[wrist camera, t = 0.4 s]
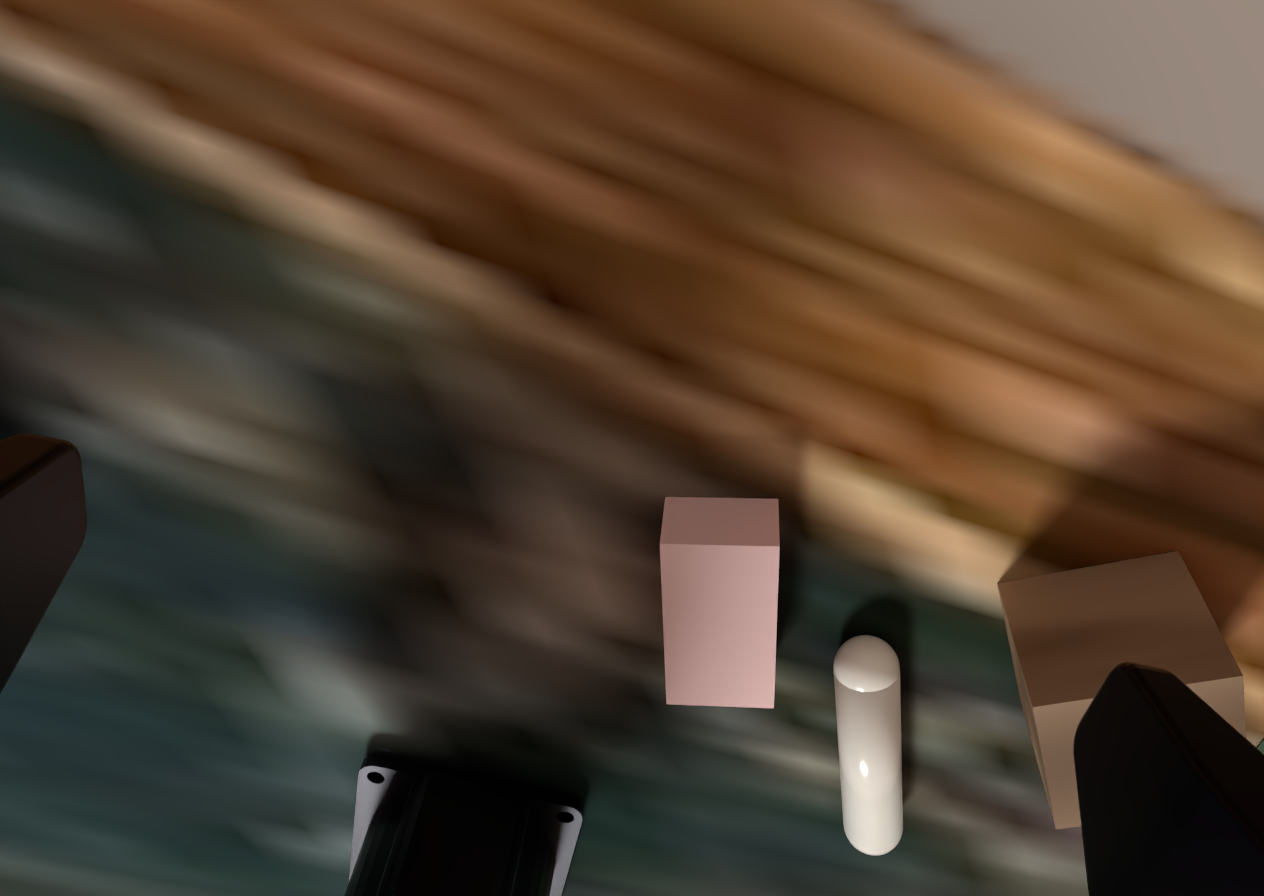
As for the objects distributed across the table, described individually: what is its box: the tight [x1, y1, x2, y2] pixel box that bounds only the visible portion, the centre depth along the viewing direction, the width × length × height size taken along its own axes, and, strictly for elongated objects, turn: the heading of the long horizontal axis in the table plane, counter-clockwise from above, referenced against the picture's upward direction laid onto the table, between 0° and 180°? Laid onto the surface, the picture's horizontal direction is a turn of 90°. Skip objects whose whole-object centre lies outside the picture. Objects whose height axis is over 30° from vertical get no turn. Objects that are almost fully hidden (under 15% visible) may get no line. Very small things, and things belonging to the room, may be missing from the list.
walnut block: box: [997, 551, 1246, 829], centre depth 24 cm, size 4×4×4 cm
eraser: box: [660, 497, 780, 708], centre depth 26 cm, size 5×3×2 cm, turn 3°
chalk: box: [833, 635, 903, 855], centre depth 28 cm, size 8×2×2 cm, turn 9°
